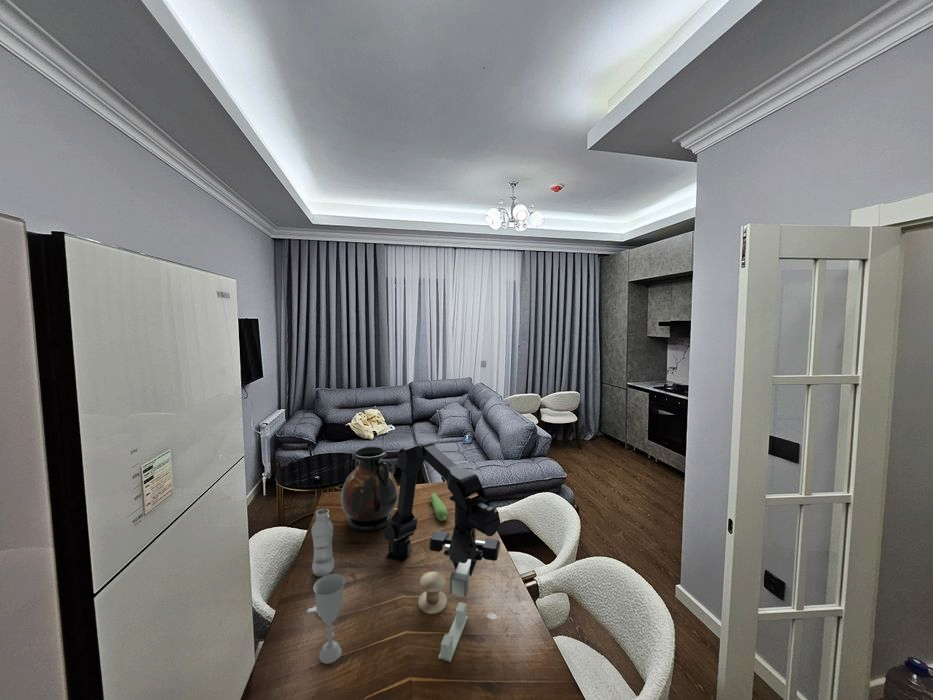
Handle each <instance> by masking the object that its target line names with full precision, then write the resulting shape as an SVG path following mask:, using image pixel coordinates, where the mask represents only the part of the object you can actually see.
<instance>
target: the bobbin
mask: <svg viewBox="0 0 933 700" xmlns="http://www.w3.org/2000/svg"><path fill="white" fill-rule="evenodd" d="M419 583H420V584H419V585H420V588H421V589H422V590H424V591H423V592H422V593H421V594H420V595H419V597H418V601H417V602H418V604H417V605H418V608H419V610H421V612H423V613H425V614H428V615H434V614H439V613H441V612H443V611H444V610H445V608H446V607H447V605H448V604H447V603H448V602H447V601H448V599H447V595H446V594H445V593H444V592H443V591H442V589H444V587H445V586H446V577H445V575H444V574H443V573H441V572H439V571H429V572H426V573H424V574H423V575H422V576H421V577H420V582H419Z"/></svg>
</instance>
